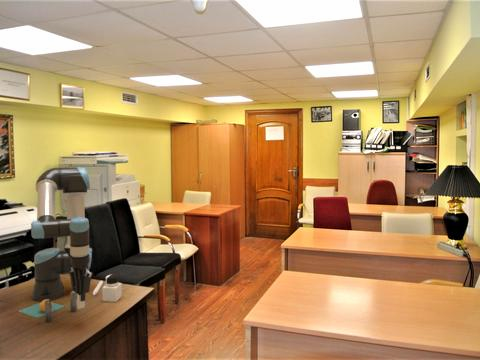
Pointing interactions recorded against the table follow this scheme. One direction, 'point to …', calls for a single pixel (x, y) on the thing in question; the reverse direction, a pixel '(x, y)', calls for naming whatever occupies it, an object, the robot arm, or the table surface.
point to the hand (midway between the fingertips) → (81, 307)
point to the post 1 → (48, 311)
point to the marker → (97, 288)
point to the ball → (43, 305)
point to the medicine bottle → (112, 289)
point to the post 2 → (73, 301)
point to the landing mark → (38, 310)
